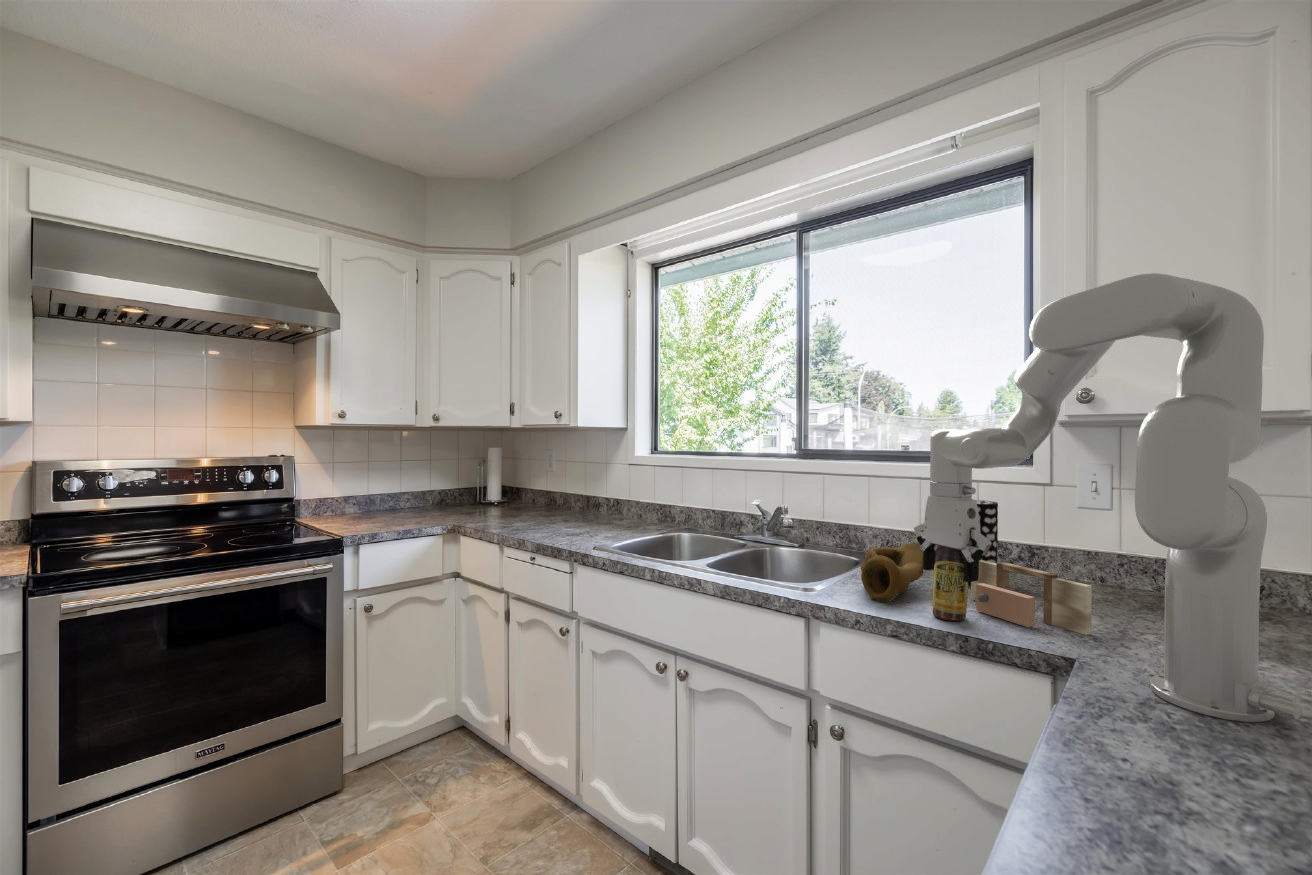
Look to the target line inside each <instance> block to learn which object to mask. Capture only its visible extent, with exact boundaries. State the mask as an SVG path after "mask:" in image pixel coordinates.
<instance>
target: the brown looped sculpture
mask: <svg viewBox="0 0 1312 875" xmlns="http://www.w3.org/2000/svg"><path fill="white" fill-rule="evenodd" d="M860 564H861V565H860V571H861V574H860V576H861V577H860V578H861V582H862V585H863V588H864V590H865V592H866V594H868V595H869V596H870V598H872V599H873V600H874V601H877V602H881V603H886V602H887V603H888V602H890V601H893V600H894V599H895V598H896V597H897V595H900V594H903V592H905V591H906V590H907V588H908V587H909V585H910V583H914V582H915V581H917V580H919V579H920V578H921V577H922V576H923V574H924V569H923V550H921V545H920V544H919V542H918V541H914V542H910V543H906V542H904V543H902V544H901V545H900V546H899V547H898V548H894V547H882V546H881V547H878V546H877V547H873V548H872V547H871V548H870V549H869V550H868V551H866V554H865V557H864V560H863V561H862V563H860Z"/></svg>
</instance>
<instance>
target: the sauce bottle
mask: <svg viewBox="0 0 1312 875" xmlns="http://www.w3.org/2000/svg"><path fill="white" fill-rule="evenodd" d="M935 550H936V552H935V555H936V556H935V564H934V570H933V585H932V600H931V601H932V604H931V605H932V615H933V616H934V617H936V618H938V619H941V620H945V621H949V622H950V621H952V622H953V621H954V622H962V621H964V620H965V619H966V617H967V610H968V592H969V591H968V589H969V586H968V582H965V581H964V561H967V559H966V558H965V556H964V554H963V553H962V551H961V550H957V549H952V548H950V547H947V546H939V545H937V546H936V548H935Z"/></svg>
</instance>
